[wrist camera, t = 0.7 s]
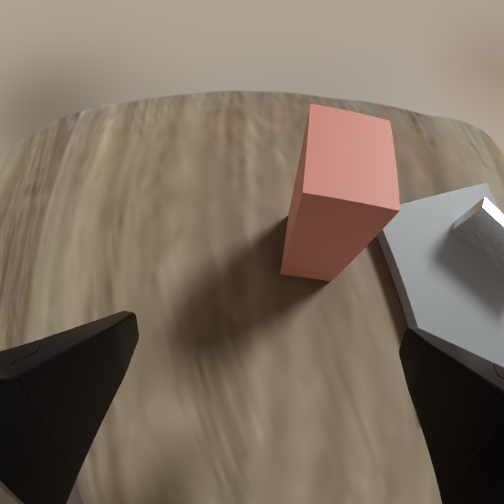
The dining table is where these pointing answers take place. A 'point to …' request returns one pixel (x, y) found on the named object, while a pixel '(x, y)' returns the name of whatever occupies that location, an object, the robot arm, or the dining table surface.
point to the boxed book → (339, 192)
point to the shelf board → (446, 273)
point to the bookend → (483, 233)
